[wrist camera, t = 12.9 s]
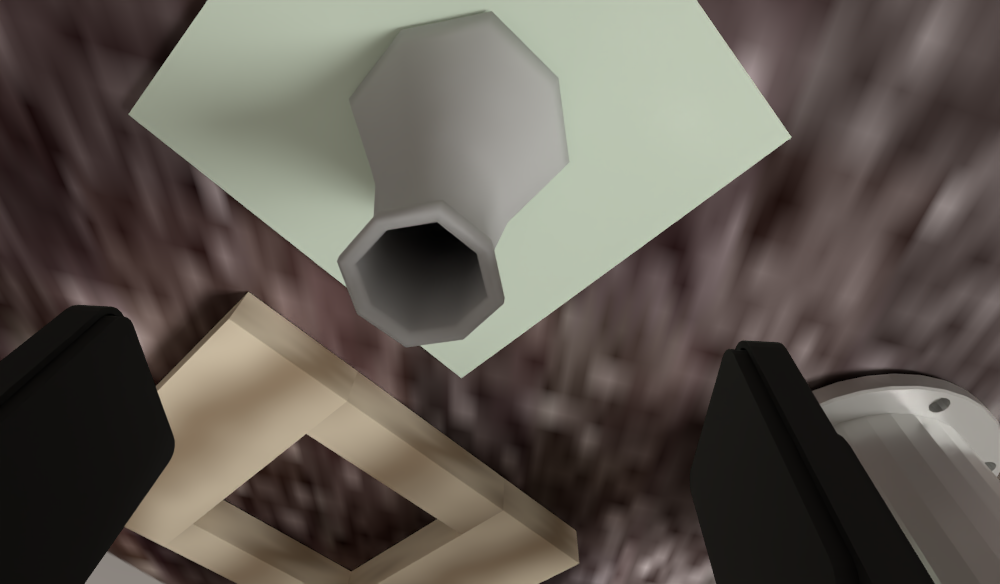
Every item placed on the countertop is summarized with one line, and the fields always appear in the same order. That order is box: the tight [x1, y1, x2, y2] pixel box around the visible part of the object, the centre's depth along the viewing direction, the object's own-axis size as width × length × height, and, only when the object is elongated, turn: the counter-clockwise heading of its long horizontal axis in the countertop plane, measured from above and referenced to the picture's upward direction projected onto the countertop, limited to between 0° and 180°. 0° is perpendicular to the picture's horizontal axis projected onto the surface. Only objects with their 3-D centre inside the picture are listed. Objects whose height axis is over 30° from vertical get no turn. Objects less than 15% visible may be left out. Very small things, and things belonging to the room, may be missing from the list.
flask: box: [337, 11, 569, 347], centre depth 16 cm, size 7×7×10 cm
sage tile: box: [128, 0, 791, 378], centre depth 20 cm, size 16×16×1 cm
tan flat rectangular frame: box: [124, 292, 579, 584], centre depth 31 cm, size 22×16×2 cm
